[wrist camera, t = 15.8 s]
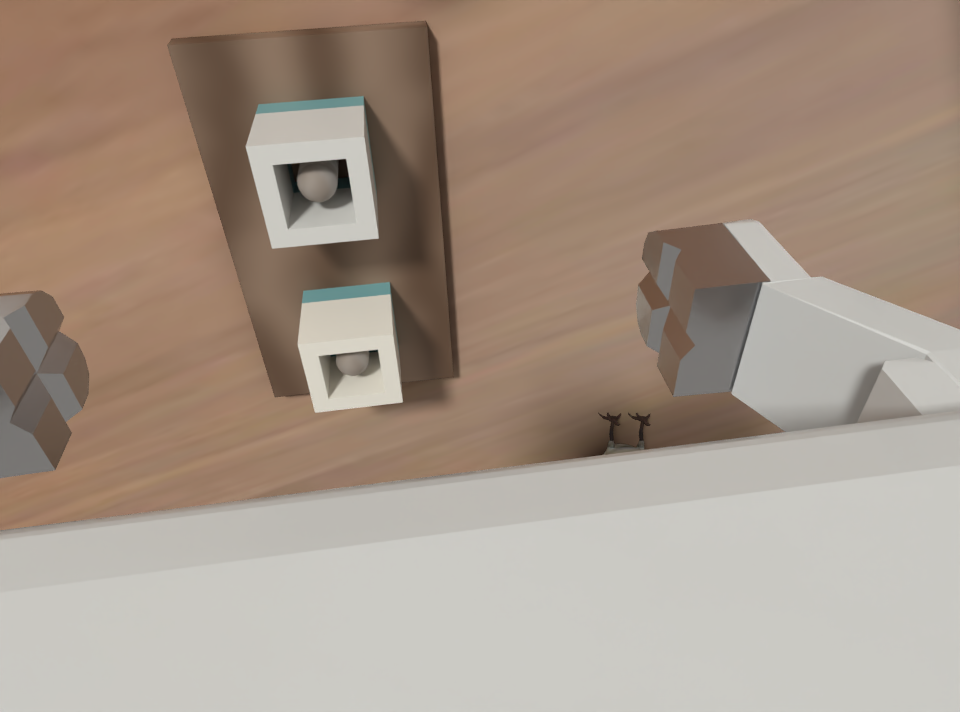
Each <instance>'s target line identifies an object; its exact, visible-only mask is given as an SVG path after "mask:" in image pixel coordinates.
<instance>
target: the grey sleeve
mask: <svg viewBox="0 0 960 712" xmlns="http://www.w3.org/2000/svg"><path fill="white" fill-rule="evenodd" d="M246 150H247V154H248V158H249V161H250V165H251V169H252V173H253V177H254V181H255V185H256V188H257V192H258V196H259V200H260V204H261V208H262V212H263V215H264V219H265V223H266V227H267V231H268V235H269V238H270V242H271V246H272V249H275V248H285V247H296V246H306V245H317V244H327V243H337V242H348V241H358V240H369V239H379V230H378V209H377V190H376V183H375V175H374V168H373V161H372V154H371V146H370V139H369V132H368V125H367V118H366V110H365V103H364V96H358V97H346V98H333V99H320V100H308V101H295V102H282V103H270V104H258V108H257V111H256V114H255V118H254V121H253V124H252V127H251V131H250V134H249V137H248V141H247V144H246ZM338 159H346V161H347V167H348V173H349V177H344V178H338V185H337V189H336V192H335V194H334V195H333V196H332V197H331V198H330V199H328V200H327V201H324V202H313V201H310V200H308V199H306V198H305V197H304V196H303V195H302V194H301V192H300V190H299V188H298V185H297V182H295V178H294V174H293V169H292V165H291V163H303V162H315V161H326V160H338Z"/></svg>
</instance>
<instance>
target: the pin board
mask: <svg viewBox="0 0 960 712" xmlns="http://www.w3.org/2000/svg"><path fill="white" fill-rule="evenodd" d="M167 46H168V49H169V53H170V56H171V59H172V63H173V66H174V69H175V72H176V76H177V79H178V82H179V85H180V89H181V92H182V95H183V99H184V102H185V105H186V108H187V112H188V115H189V118H190V121H191V125H192V128H193V131H194V134H195V138H196V141H197V144H198V148H199V151H200V154H201V157H202V161H203V164H204V167H205V170H206V174H207V177H208V180H209V184H210V187H211V190H212V193H213V197H214V200H215V203H216V206H217V210H218V213H219V216H220V220H221V223H222V226H223V229H224V233H225V236H226V239H227V242H228V246H229V249H230V252H231V256H232V259H233V262H234V265H235V269H236V272H237V275H238V278H239V282H240V285H241V288H242V292H243V295H244V298H245V301H246V305H247V308H248V311H249V314H250V318H251V321H252V324H253V328H254V331H255V334H256V337H257V341H258V344H259V347H260V350H261V354H262V357H263V360H264V363H265V367H266V370H267V373H268V377H269V380H270V383H271V386H272V390H273V393H274V396H275V397H282V396H291V395H299V394H308V393H310V391H309V387H308V383H307V379H306V375H305V371H304V368H303V364H302V360H301V356H300V352H299V348H298V336H299V326H300V317H301V307H302V298H303V291H307V290H317V289H327V288H336V287H346V286H356V285H366V284H376V283H386V282H390V288H391V295H392V302H393V309H394V316H395V324H396V331H397V338H398V345H399V357H400V370H401V383H405V382H414V381H422V380H431V379H440V378H449V377H454V376H453V363H452V350H451V336H450V323H449V310H448V296H447V283H446V270H445V256H444V243H443V230H442V216H441V203H440V190H439V176H438V163H437V150H436V136H435V123H434V110H433V96H432V83H431V70H430V56H429V43H428V30H427V24H426V21H417V22H403V23H389V24H375V25H361V26H346V27H332V28H318V29H304V30H290V31H276V32H261V33H247V34H233V35H219V36H205V37H190V38H176V39H171V41H170V42H169V43H168V45H167ZM358 96H364V103H365V110H366V118H367V125H368V132H369V139H370V146H371V154H372V161H373V168H374V175H375V183H376V190H377V209H378V230H379V239H369V240H358V241H348V242H337V243H327V244H317V245H306V246H296V247H285V248H275V249H272V246H271V242H270V238H269V235H268V231H267V227H266V223H265V219H264V215H263V212H262V208H261V204H260V200H259V196H258V192H257V188H256V185H255V181H254V177H253V173H252V169H251V165H250V161H249V158H248V154H247V150H246V144H247V141H248V137H249V134H250V131H251V127H252V124H253V121H254V118H255V114H256V111H257V108H258V104H270V103H282V102H295V101H308V100H320V99H333V98H346V97H358ZM291 165H292V169H293V174H294V178H295V182H297V185H298V188H299V190H300V192H301V194H302V195H303V196H304V197H305V198H306V199H308V200H310V201H313V202H324V201H327V200H328V199H330V198H331V197H332V196H333V195H334V194H335V192H336V189H337V185H338V178H344V177H349V173H348V167H347V161H346V159H338V160H326V161H315V162H303V163H291ZM368 363H369V351H360V352H351V353H342V354H336V364H337V367H338V368H339V370H340V371H341V372H342V373H344V374H345V375H349V376H356V375H359V374H361V373H363V372H364V371H365V370H366V368H367V366H368Z"/></svg>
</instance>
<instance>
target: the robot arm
mask: <svg viewBox="0 0 960 712" xmlns="http://www.w3.org/2000/svg"><path fill="white" fill-rule="evenodd" d="M642 260H643V261H644V263H645V265H646V266H647V268H648V270H649V273H648V274H647V275H646V276H645V278H644V279H643V280H642V281H641V282H640V283H639V285H638V292H637V302H636V307H637V319H638V325H639V328H640V332H641V335H642V337H643V339H644V341H645V343H646V345H647V346H648V347H650V348H651V349H653V350H655V351H657V352H658V353H659V357H658V363H657V367H658V369H659V371H660V373H661V374H662V376H663V378H664V380H665V382H666V384H667V386H668V388H669V390H670V392H671V393H672V395H673V397H676V396H686V395H697V394H708V393H719V392H730V391H732V393H731V394H732V395H734V396H735V397H737V398H738V399H739V400H741V401H742V402H744V403H745V404H747V405H748V406H749V407H751V408H752V409H754V410H755V411H757V412H758V413H759V414H761V415H762V416H764V417H765V418H766V419H768V420H769V421H771V422H772V423H774V424H775V425H776V426H778V427H779V428H781V429H782V430H784V431H785V432H783V433H775V434H767V435H759V436H751V437H743V438H735V439H727V440H719V441H711V442H703V443H695V444H687V445H679V446H672V447H664V448H656V449H648V450H640V451H632V452H624V453H616V454H608V455H600V456H592V457H584V458H576V459H568V460H560V461H552V462H544V463H536V464H528V465H520V466H512V467H504V468H496V469H488V470H480V471H472V472H464V473H456V474H448V475H440V476H432V477H424V478H416V479H408V480H400V481H392V482H384V483H376V484H368V485H360V486H352V487H344V488H336V489H328V490H320V491H312V492H304V493H296V494H288V495H280V496H272V497H264V498H256V499H248V500H240V501H232V502H224V503H216V504H208V505H200V506H192V507H184V508H176V509H168V510H160V511H152V512H144V513H136V514H128V515H120V516H112V517H104V518H96V519H88V520H80V521H72V522H64V523H56V524H48V525H40V526H32V527H24V528H16V529H8V530H0V712H960V330H959V329H957V328H954V327H952V326H949V325H946V324H944V323H941V322H938V321H936V320H933V319H931V318H928V317H925V316H923V315H920V314H918V313H915V312H912V311H910V310H907V309H905V308H902V307H899V306H897V305H894V304H892V303H889V302H886V301H884V300H881V299H879V298H876V297H873V296H871V295H868V294H866V293H863V292H860V291H858V290H855V289H853V288H850V287H847V286H845V285H842V284H840V283H837V282H834V281H832V280H829V279H827V278H824V277H813V278H811V277H810V276H809V275H808V274H807V273H806V272H805V271H804V270H803V269H802V268H801V267H800V265H799V264H798V263H797V262H796V261H795V260H794V259H793V258H792V257H791V256H790V255H789V254H788V252H787V251H786V250H785V249H784V248H783V247H782V246H781V245H780V244H779V243H778V242H777V241H776V239H775V238H774V237H773V236H772V235H771V234H770V233H769V232H768V231H767V230H766V229H765V228H764V227H763V225H762V224H761V223H760V222H758V221H755V220H752V219H748V220H740V221H733V222H726V223H718V224H710V225H702V226H694V227H686V228H678V229H669V230H661V231H654V232H649V233H648V235H647V238H646V240H645V243H644V249H643V255H642ZM63 319H64V316H63V314H62V312H61V311H60V309H59V307H58V305H57V304H56V302H55V300H54V298H53V297H52V296H50V295H49V294H47V293H45V292H43V291H28V292H15V293H3V294H0V478H4V477H11V476H18V475H25V474H32V473H39V472H46V471H53V470H56V468H57V465H58V463H59V461H60V459H61V456H62V454H63V452H64V450H65V447H66V445H67V443H68V441H69V438H70V436H71V434H72V432H71V431H70V429H69V427H68V425H67V424H66V421H68V420H69V419H70V418H72V417H73V416H74V415H75V414H77V413H78V412H79V411H81V410H82V409H83V406H84V404H85V401H86V399H87V396H88V393H89V371H88V367H87V364H86V360H85V357H84V355H83V353H82V351H81V349H80V347H79V345H78V343H77V342H75V341H73V340H72V339H70V338H69V337H67V336H66V335H64V334H62V333H61V332H59V330H60V327H61V324H62V322H63Z"/></svg>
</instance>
